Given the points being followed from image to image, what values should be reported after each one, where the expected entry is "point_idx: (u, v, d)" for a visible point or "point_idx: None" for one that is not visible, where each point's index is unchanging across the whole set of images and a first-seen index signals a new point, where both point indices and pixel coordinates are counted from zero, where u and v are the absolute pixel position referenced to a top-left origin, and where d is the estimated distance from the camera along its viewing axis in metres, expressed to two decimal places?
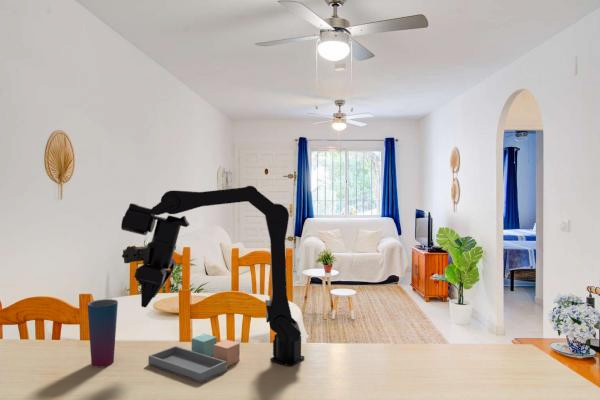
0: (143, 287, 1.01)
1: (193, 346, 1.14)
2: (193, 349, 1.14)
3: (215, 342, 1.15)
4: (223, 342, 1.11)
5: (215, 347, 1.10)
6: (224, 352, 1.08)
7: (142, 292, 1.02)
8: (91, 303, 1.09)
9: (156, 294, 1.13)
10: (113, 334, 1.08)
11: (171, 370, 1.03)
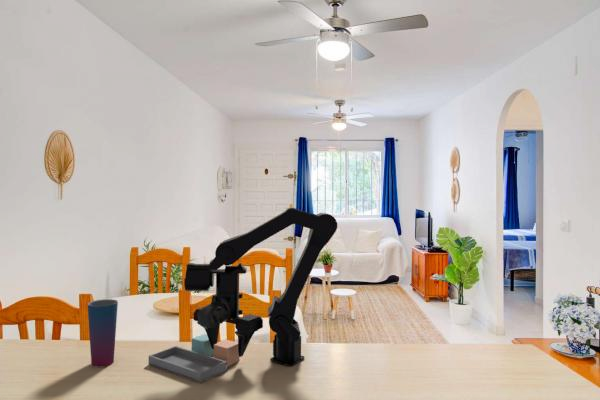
0: (243, 339, 1.06)
1: (193, 346, 1.14)
2: (193, 349, 1.14)
3: None
4: (223, 342, 1.11)
5: (215, 347, 1.10)
6: (224, 352, 1.08)
7: (242, 344, 1.06)
8: (91, 303, 1.09)
9: None
10: (113, 334, 1.08)
11: (171, 370, 1.03)
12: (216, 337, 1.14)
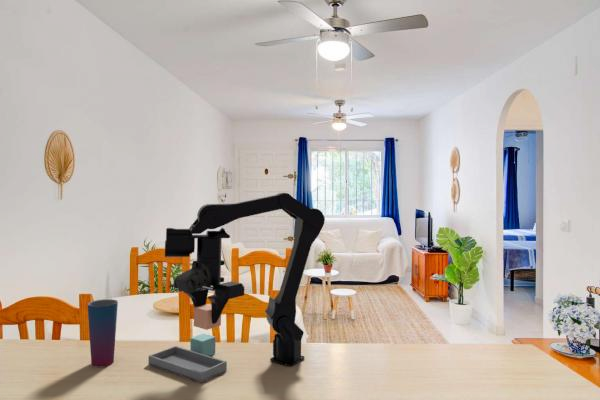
0: (216, 304, 1.03)
1: (192, 346, 1.14)
2: (192, 349, 1.14)
3: (214, 342, 1.15)
4: (204, 305, 1.07)
5: (195, 310, 1.05)
6: (204, 314, 1.03)
7: (215, 310, 1.03)
8: (91, 303, 1.09)
9: None
10: (113, 334, 1.08)
11: (171, 370, 1.03)
12: None
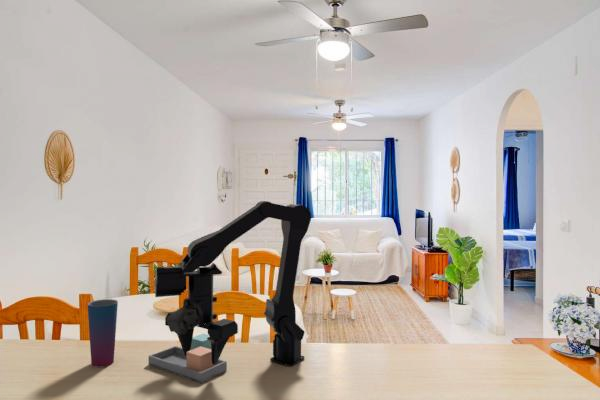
0: (216, 345, 0.99)
1: (192, 346, 1.14)
2: (192, 349, 1.14)
3: None
4: (197, 349, 1.05)
5: (188, 354, 1.03)
6: (197, 359, 1.01)
7: (215, 350, 1.00)
8: (91, 303, 1.09)
9: None
10: (113, 334, 1.08)
11: (171, 370, 1.03)
12: (189, 343, 1.07)
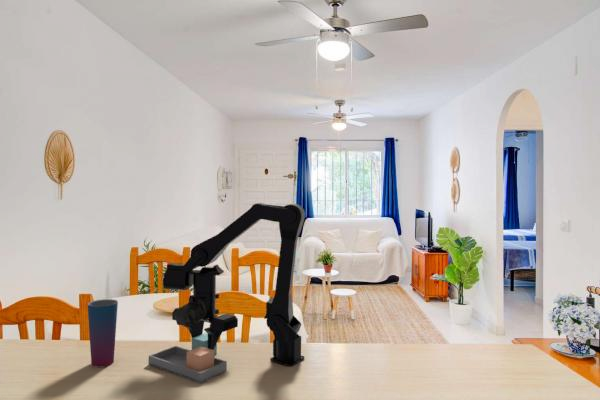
0: (212, 335, 1.12)
1: (193, 346, 1.14)
2: None
3: None
4: (197, 349, 1.05)
5: (188, 354, 1.03)
6: (197, 359, 1.01)
7: (211, 340, 1.12)
8: (91, 303, 1.09)
9: None
10: (113, 334, 1.08)
11: (171, 370, 1.03)
12: None
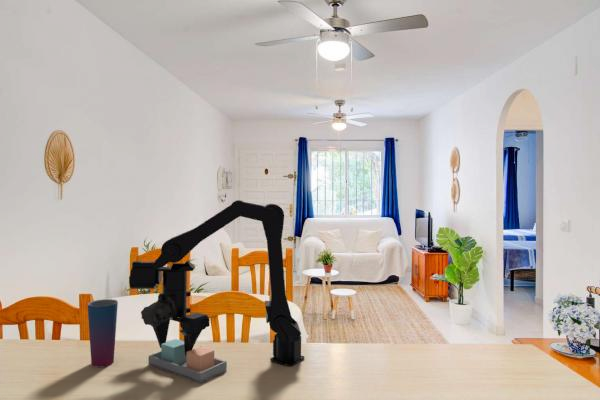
0: (189, 337, 1.04)
1: (163, 352, 1.08)
2: (163, 355, 1.08)
3: None
4: (197, 349, 1.05)
5: (188, 354, 1.03)
6: (197, 359, 1.01)
7: (188, 342, 1.05)
8: (91, 303, 1.09)
9: (164, 342, 1.12)
10: (113, 334, 1.08)
11: (171, 370, 1.03)
12: (164, 336, 1.12)
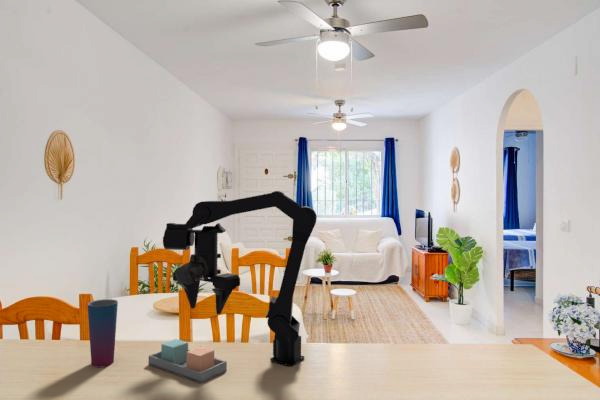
0: (220, 296, 1.08)
1: (163, 352, 1.08)
2: (163, 355, 1.08)
3: (186, 348, 1.09)
4: (197, 349, 1.05)
5: (188, 354, 1.03)
6: (197, 359, 1.01)
7: (219, 301, 1.08)
8: (91, 303, 1.09)
9: None
10: (113, 334, 1.08)
11: (171, 370, 1.03)
12: (195, 297, 1.15)
